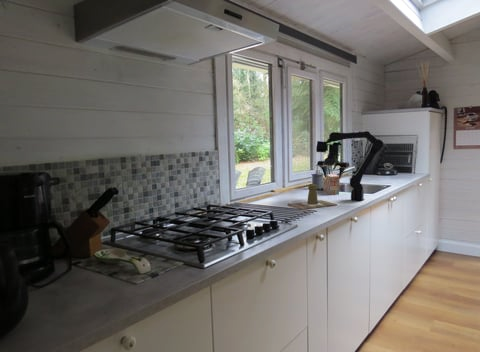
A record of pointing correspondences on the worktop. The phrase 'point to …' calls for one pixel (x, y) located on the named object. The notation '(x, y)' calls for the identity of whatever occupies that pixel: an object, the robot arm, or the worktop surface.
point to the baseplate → (308, 206)
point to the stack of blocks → (331, 184)
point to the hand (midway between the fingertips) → (332, 178)
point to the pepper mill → (312, 194)
